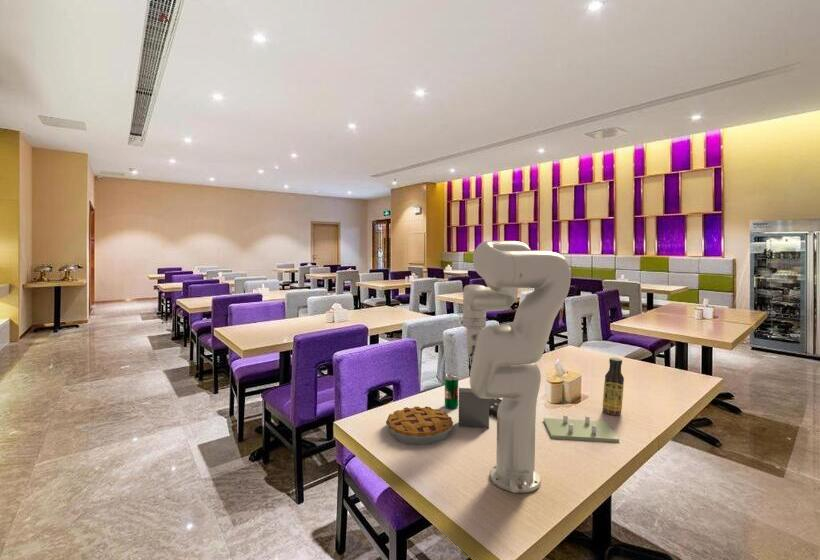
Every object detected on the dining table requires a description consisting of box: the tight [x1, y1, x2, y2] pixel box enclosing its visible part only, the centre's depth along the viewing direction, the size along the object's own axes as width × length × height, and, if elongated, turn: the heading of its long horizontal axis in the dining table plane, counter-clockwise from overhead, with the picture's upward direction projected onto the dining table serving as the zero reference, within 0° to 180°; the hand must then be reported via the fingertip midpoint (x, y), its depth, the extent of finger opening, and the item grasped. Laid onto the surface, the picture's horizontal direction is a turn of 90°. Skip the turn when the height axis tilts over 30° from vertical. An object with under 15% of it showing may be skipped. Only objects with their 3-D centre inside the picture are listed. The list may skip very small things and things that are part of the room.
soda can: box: [444, 373, 459, 410], centre depth 151 cm, size 5×5×12 cm
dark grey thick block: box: [458, 387, 490, 429], centre depth 135 cm, size 4×10×12 cm, turn 82°
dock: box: [543, 414, 620, 443], centre depth 131 cm, size 13×20×4 cm, turn 82°
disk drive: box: [489, 398, 502, 418], centre depth 147 cm, size 10×3×15 cm
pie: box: [385, 406, 454, 445], centre depth 132 cm, size 22×22×5 cm
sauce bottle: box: [602, 357, 625, 416], centre depth 145 cm, size 7×6×20 cm
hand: (473, 372), depth 135 cm, fingers open, 9 cm apart
